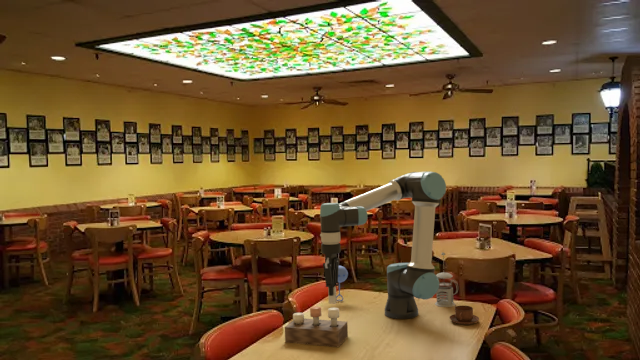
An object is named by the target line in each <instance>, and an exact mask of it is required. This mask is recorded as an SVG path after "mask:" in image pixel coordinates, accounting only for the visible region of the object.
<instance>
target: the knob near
mask: <svg viewBox="0 0 640 360" xmlns="http://www.w3.org/2000/svg"><path fill="white" fill-rule="evenodd" d="M327 317H328V319H330V320H331V327H337V321H338V319H339V318H340V308H339V307H330V308H329V307H328V309H327Z"/></svg>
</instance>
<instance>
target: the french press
mask: <svg viewBox="0 0 640 360" xmlns="http://www.w3.org/2000/svg"><path fill="white" fill-rule="evenodd" d="M441 256H442V261H443V263H442V264H443V265H442V266H443V268H445V262H444V261H445V260H444V259H445V258H444V256H446V253H445V252H441ZM435 275H436V276H437V278H438V279H440V280H441V279H442V280H446V279H451V278H453V276H454V275H453V274H451V273H450V272H445V271H443V272H439V273H437V274H435ZM453 283H454V284H455V287H456V290H455V293H454V287H453ZM458 286H459V284H458V282H457V281H456V280H455V279H454V278H453V279H451V280H450V282H445V281H442V282H439V288H438V291H437V292H436V294H435V295H436V302H435V303H434V305H435V306H437V307H440V308H452V307H456V306H457V305H456V303H455V302H454V295H456V294H458V292H459V290H458Z"/></svg>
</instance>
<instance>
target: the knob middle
mask: <svg viewBox="0 0 640 360" xmlns="http://www.w3.org/2000/svg"><path fill="white" fill-rule="evenodd" d="M309 315H310V317H311V318H312V319H313V326H319V320H320V317H322V307H321V306H318V305H317V306H311V307H310V308H309Z"/></svg>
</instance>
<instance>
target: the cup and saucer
mask: <svg viewBox="0 0 640 360" xmlns="http://www.w3.org/2000/svg"><path fill="white" fill-rule="evenodd" d="M449 320H450V321H451V322H453V323H454V324H458V325H474V324H476V323H478V322H479V320H480V318H479V316H477V315H475V314H474V308H473V307H472V306H469V305H455V306H454V314H451V315H449Z"/></svg>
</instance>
